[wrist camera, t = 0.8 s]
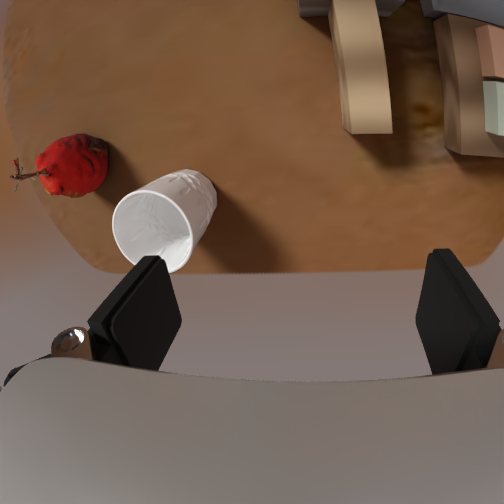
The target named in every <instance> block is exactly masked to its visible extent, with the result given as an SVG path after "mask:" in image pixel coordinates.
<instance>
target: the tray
mask: <svg viewBox="0 0 504 504" xmlns="http://www.w3.org/2000/svg"><path fill="white" fill-rule="evenodd" d="M420 4H421V8H422V12H423V16H425V17H432V18H440V17H442V16H444V15H446V14H451V15H456V16H461V17H465V18H469V19H474V20H478V21H481V22H485V23H489V24H492V25H496V26H499V27H502V28H504V0H420Z"/></svg>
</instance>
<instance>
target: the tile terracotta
mask: <svg viewBox="0 0 504 504" xmlns="http://www.w3.org/2000/svg"><path fill="white" fill-rule="evenodd" d="M475 31H476V36H477V42H478V48H479V54H480V62H481V70H482V76H484V77H489V78H494V79H498V80H503V81H504V30H503V29H500V28H497V27H494V26H490V25H485V26H482V27H478V28H475Z"/></svg>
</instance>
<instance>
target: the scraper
mask: <svg viewBox="0 0 504 504" xmlns="http://www.w3.org/2000/svg"><path fill="white" fill-rule="evenodd" d="M297 1H298V9H299V15H300V17H310V16H328V19H329V25H330V31H331V36H332V42H333V49H334V55H335V62H336V69H337V76H338V84H339V93H340V101H341V111H342V121H343V128H344V129H345V130H347V131H348V132H350V133H351V134H393V133H392V117H391V104H390V93H389V84H388V75H387V67H386V59H385V53H384V46H383V40H382V34H381V28H380V23H379V18H378V16H384V17H389V16H390V15H391V14H392V13H393V12H394V11H395V10H396V9H397V8H399V7H400V6H401V5H402V4H403V3H404V2H405V0H297Z"/></svg>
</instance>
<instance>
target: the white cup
mask: <svg viewBox="0 0 504 504" xmlns="http://www.w3.org/2000/svg"><path fill="white" fill-rule="evenodd" d="M216 207H217V192H216V190H215V188H214V186H213V185H212V183H211V181H210V180H209V179H208V178H207V177H205V176H204V175H203V174H202V173H200V172H198V171H194V170H190V169H184V170H180V171H176V172H173V173H171V174H168V175H166V176H163V177H161V178H159V179H157V180H155V181H152V182H151V183H149V184H147V185H145V186H143V187H141V188H139V189H137V190H135V191H133V192H132V193H130V194H128V195H126V196H125V197H124V198H123V199H122V200H121V201H120V202H119V203H118V205H117V206H116V208H115V211H114V214H113V220H112V228H113V234H114V238H115V240H116V243H117V245H118V247H119V249H120V250H121V252H122V253H123V254H124V256H125V257H126V258H127V259H128V260H129V261H130V262H131V263H133V264H134V265H136V264H137V263H138V262H139V261H140V259H141V258H142V257H143V256H147V255H159V256H160V257H161V258H162V259H164V260H165V261H166V265H167V268H168V272H169V273H171V272H174V271H176V270H178V269H180V268H181V267H182V266H183V265H184V264H185V263H186V262H187V261H188V259H189V257H190V256H191V254H192V252H193V250H194V249H195V247H196V245H197V244H198V242H199V240H200V239H201V237H202V235H203V234H204V232H205V230H206V228H207V226H208V224H209V222H210V220H211V218H212V216H213V214H214V211H215V209H216Z"/></svg>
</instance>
